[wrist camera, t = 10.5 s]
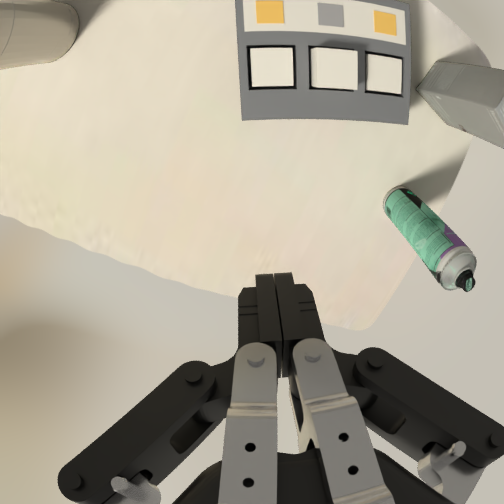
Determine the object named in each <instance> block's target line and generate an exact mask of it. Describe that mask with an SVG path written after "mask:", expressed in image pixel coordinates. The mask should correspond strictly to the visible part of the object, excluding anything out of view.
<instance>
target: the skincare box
mask: <svg viewBox="0 0 504 504" xmlns="http://www.w3.org/2000/svg"><path fill="white" fill-rule="evenodd" d="M416 90H417V91H418V92H419V93H420V95H421V96H422V97H423V98H424V99H425V100H426V102H427V103H428V104H429V105H430V106H431V107H432V109H433V110H434V111H435V112H436V113H437V114H438V115H439V117H440V118H441V119H442V120H443V121H444V122H445V123H446V124H447V125H449V126H452V127H454V128H457V129H460V130H462V131H465V132H467V133H469V134H472V135H474V136H477V137H479V138H481V139H483V140H486V141H488V142H490V143H492V144H494V145H497V146H499V147H501V148H503V149H504V70H501V69H495V68H490V67H483V66H476V65H469V64H461V63H451V62H440V61H436V62H435V64H434V65H433V67H432V68H431V69H430V71H429V72H428V74H427V75H426V77H425V78H424V79H423V81H422V82H421V84H420V85H419V86H418V87H417V88H416Z"/></svg>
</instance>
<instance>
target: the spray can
mask: <svg viewBox="0 0 504 504" xmlns="http://www.w3.org/2000/svg"><path fill="white" fill-rule="evenodd" d="M383 209H384V212H385V213H386V215H387V216H388V217H389V218H390V220H391V221H392V222H393V223H394V225H395V226H396V227H397V228H398V229H399V231H400V232H401V233H402V235H403V236H404V237H405V238H406V240H407V241H408V242H409V243H410V245H411V246H412V247H413V249H414V250H415V251H416V253H417V254H418V255H419V257H420V258H421V259H422V261H423V262H424V263H425V265H426V266H427V267H428V269H429V270H430V271H431V273H432V274H433V275H434V277H435V279H436V280H437V282H438V283H439V284H440V285H441V286H442V287H443V288H444V289H445V290H450V291H451V290H455V289H458V288H462V289H463V290H464V291H466V292H468V291H470V290H471V289H472V288H473V287H474V285H475V279H474V278H473V274H474V271H475V268H476V257H475V256H474V255H473V253H472V251H471V250H470V249H469V248H468V247H467V245H466V244H465V243H464V242H463V241H462V240H461V239H460V238H459V237H458V236H457V235H456V234H455V233H454V232H453V231H452V230H451V229H450V228H449V227H448V226H447V225H446V224H445V223H444V222H443V221H442V220H441V219H440V218H439V217H438V216H437V215H436V214H435V213H434V212H433V211H432V210H431V209H430V208H429V207H428V206H427V205H426V204H425V203H424V202H423V201H421V200H420V199H419V198H418V197H417V196H416V195H415V194H414V193H413V192H412V191H410V190H409V189H408V188H406V187H403V186H398V187H395V188H393V189H391V190H390V191H389V192H388V193H387V194H386V196H385V198H384V201H383Z"/></svg>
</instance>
